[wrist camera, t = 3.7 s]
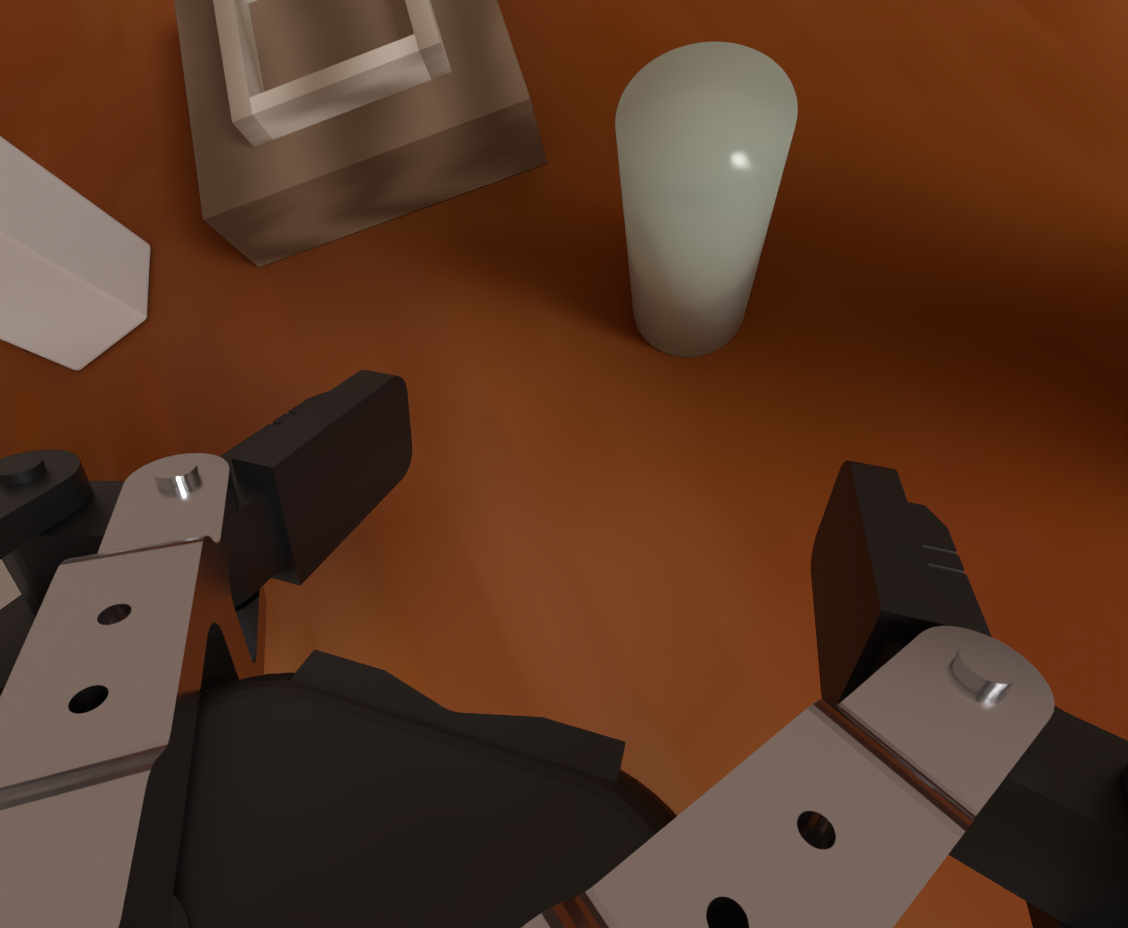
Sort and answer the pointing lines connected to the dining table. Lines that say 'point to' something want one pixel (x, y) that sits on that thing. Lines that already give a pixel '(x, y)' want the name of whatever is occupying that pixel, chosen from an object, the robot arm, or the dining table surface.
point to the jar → (64, 267)
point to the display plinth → (346, 113)
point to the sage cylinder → (700, 187)
